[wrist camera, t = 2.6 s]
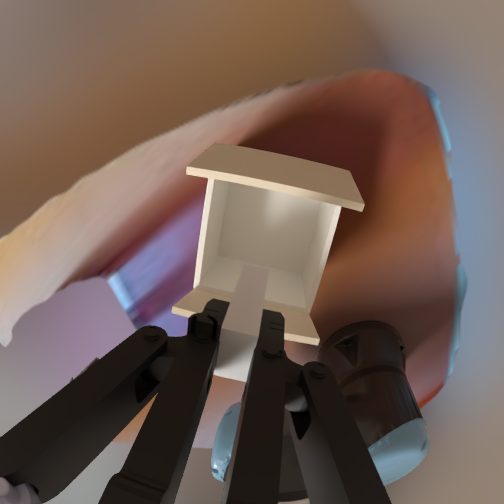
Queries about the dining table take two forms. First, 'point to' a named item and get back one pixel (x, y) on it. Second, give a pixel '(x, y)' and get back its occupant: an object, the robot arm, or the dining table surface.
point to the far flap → (295, 322)
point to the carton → (264, 242)
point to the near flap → (278, 174)
